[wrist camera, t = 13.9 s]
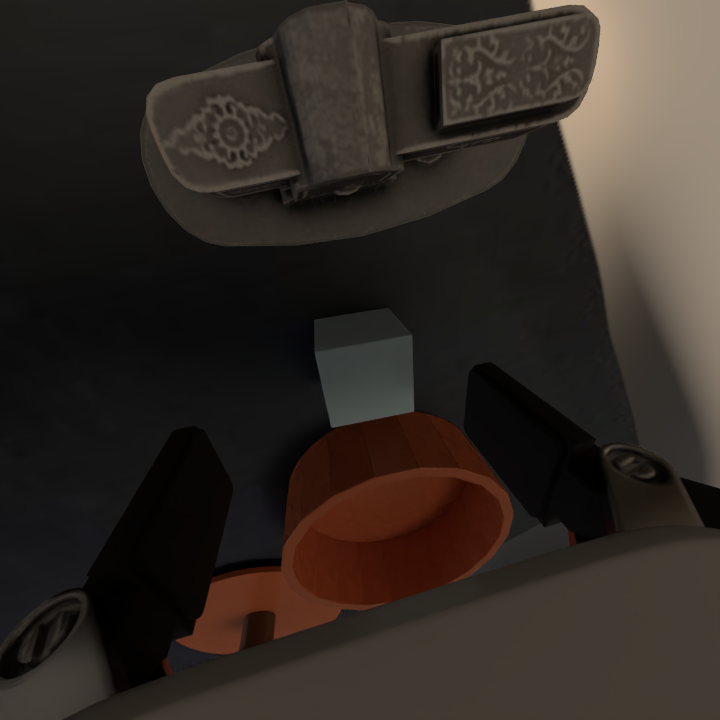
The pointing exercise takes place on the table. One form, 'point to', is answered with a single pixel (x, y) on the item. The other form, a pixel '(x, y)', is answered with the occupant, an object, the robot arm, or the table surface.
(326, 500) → the pot
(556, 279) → the table surface
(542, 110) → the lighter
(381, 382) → the grey cube
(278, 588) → the lid
